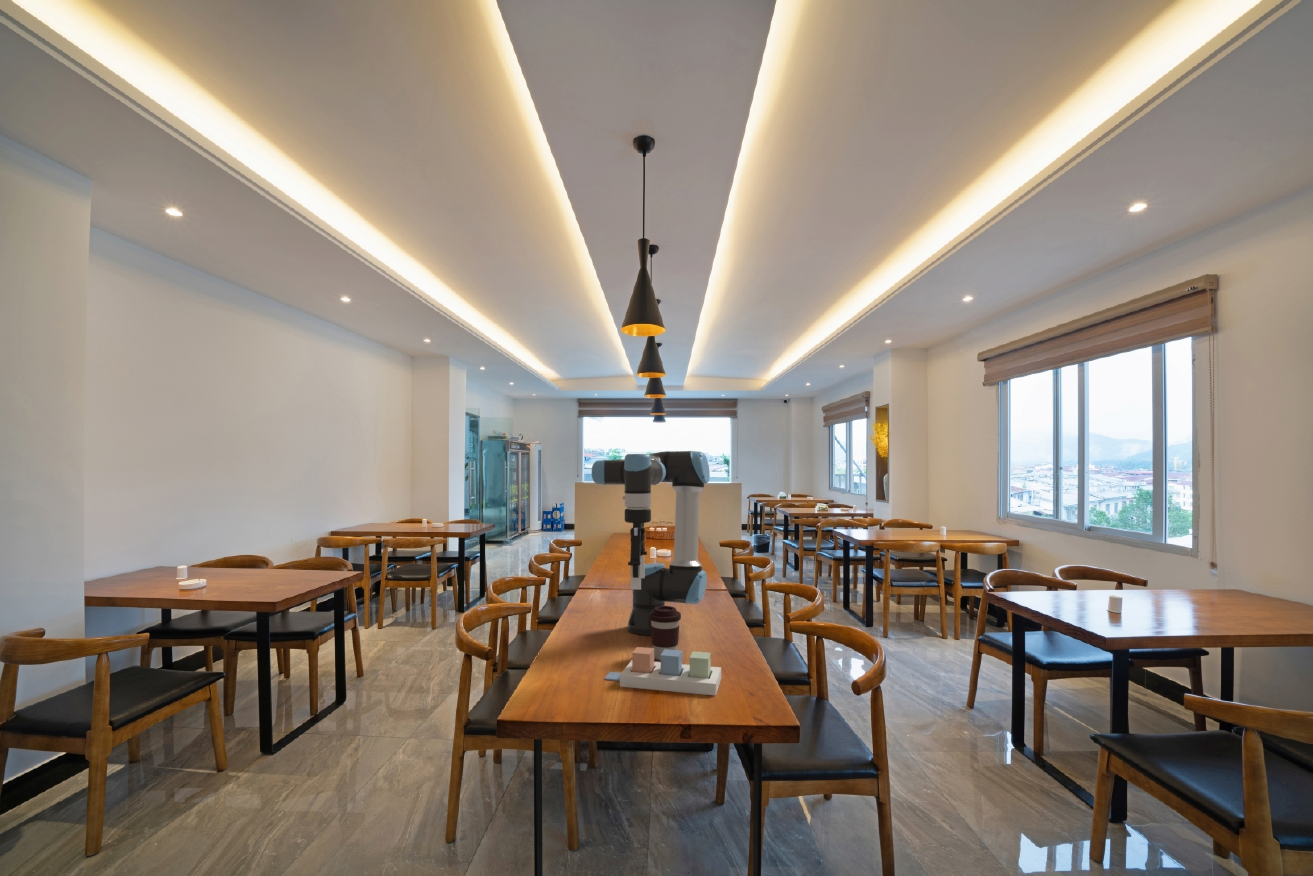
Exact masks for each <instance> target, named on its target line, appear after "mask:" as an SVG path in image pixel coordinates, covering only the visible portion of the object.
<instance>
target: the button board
mask: <svg viewBox="0 0 1313 876" xmlns="http://www.w3.org/2000/svg"><path fill="white" fill-rule="evenodd" d="M620 673H621V674H620V681H619V687H621V688H631V689H634V688H635V689H644V690H651V691H652V690H655V691H661V692H662V691H664V692H672V693H673V692H674V693H685V694H694V695H695V694H696V695H704V696H705V695H707V696H715V697H716V696H717V693H718V689H719V687H720V683H721V680H722V667H720V666H719V667H718V666H711V672H710V675H709V678H708V679H705V678H694V677H690V664H685V663H684V664H683V663H682V671H681V672H680V674H679V676H672V675H661V661H654V668H653V670H652V671H651V673H638V672H632V659H631V660H630V661H629V663H628V664H627V665H626V667H625V668H624V669H623V670H622V672H620Z"/></svg>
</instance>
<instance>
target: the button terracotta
mask: <svg viewBox="0 0 1313 876" xmlns="http://www.w3.org/2000/svg"><path fill="white" fill-rule="evenodd" d="M631 656H632V657H631V660H632V672H638V673H651V671H652V670H653V668H654V662H655V658H654V648H653V647H643V646H642V647H641V646H637V647H636V648H635V649H634V650H633V651H632V654H631Z"/></svg>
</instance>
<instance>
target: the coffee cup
mask: <svg viewBox="0 0 1313 876" xmlns="http://www.w3.org/2000/svg"><path fill="white" fill-rule="evenodd" d="M681 615H682V614H681V612H680V611H678V610H677V609H676V607H675V606H671V605H665V606H658V607H655V608H654V610H653V611H652V612H650V613H649V619H650V620H651V635H650V636H651V637H650V638H651V645H652V648H654V660H657V661H661V654H662V652H663V651H664V649H669V650H678V645H679V637H680V635H679V634H680V624H679V623H680V620H682V619H681V618H682V616H681Z"/></svg>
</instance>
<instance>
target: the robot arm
mask: <svg viewBox="0 0 1313 876" xmlns="http://www.w3.org/2000/svg"><path fill="white" fill-rule="evenodd" d="M710 473H711V472H710V464H709V461H708V458H707V456H706V454H705V453H704V452H702V451H696V450H680V451H679V450H678V451H677V450H676V451H674V450H673V451H669V450H667V451H661V452H659V451H658V452H654V453H650V454H648V453H627V454H626V455H625V456H624V458H623V459H601V460H600V459H599V460H596V461H594V463H593V464H592V467H591V479H592V481H593V482H594V483H595V484H597V485H603V486H604V485H619V486H620V485H624V495H623V496H622V500H623V501H624V500H625V501H624V507H625V509H624V521H625V523H629V524H632V527H631V528H630V533H629V534H630V558H629V559H630V560H629V561H628V562H627V566H630V590H632V608H631V612H630V615H629V618H628V622H627V631H628V632H630V633H632V634H635V635H640V636H651V620H650V619H649V613H650V612H652V611H653V610H654V608H655V607H658V606H666V605H665V603H676V604H686V605H689V604H690V605H696V604H699V603H701V602H702V600H703V599H704V595H705V593H706V589H707V583H708V576H707V575H708V574H707V572H706V571H705V570H702V569H703V565H702V563H701V562H700V561H699V534H700V533H699V527H700V500H701V499H700V495H701V492H702V491H703V490H704V489H705V484H708V483H709V482H710V475H711V474H710ZM660 483H665V484H666V483H667V484H671V485H672V486H671V488H672V489H673V490H674V492H675V514H674V515H675V516H674V517H675V518H674V520H675V521H674V549H673V560H672V561H670V563H669V567H668V568H666V566H665V563H663V562H662V563H661V562H654V563H652V562H651V563H647V564H646V563H645V556H647V555H648V551H646V548H645V541H646V527H645V524H646V523H647V524H648V523H650V522H651V521H652V509H651V506H652V486H657V485H658V484H660Z"/></svg>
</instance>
